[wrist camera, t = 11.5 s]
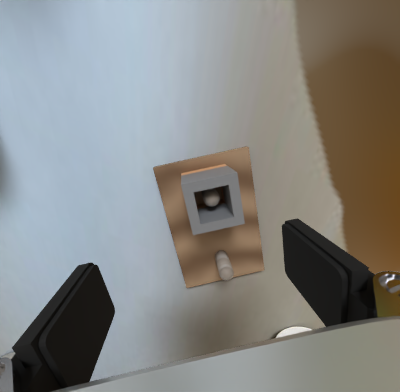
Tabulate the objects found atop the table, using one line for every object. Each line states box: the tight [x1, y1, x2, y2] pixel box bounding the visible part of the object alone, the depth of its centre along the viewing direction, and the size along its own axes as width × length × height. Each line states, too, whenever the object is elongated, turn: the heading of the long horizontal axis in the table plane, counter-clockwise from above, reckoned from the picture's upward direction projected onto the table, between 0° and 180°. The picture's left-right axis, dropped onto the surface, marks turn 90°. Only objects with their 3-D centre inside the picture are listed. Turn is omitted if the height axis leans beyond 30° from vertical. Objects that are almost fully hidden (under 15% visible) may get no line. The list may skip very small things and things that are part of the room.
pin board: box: [153, 147, 264, 288], centre depth 28 cm, size 20×13×6 cm, turn 12°
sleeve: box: [181, 164, 245, 235], centre depth 25 cm, size 6×6×6 cm
